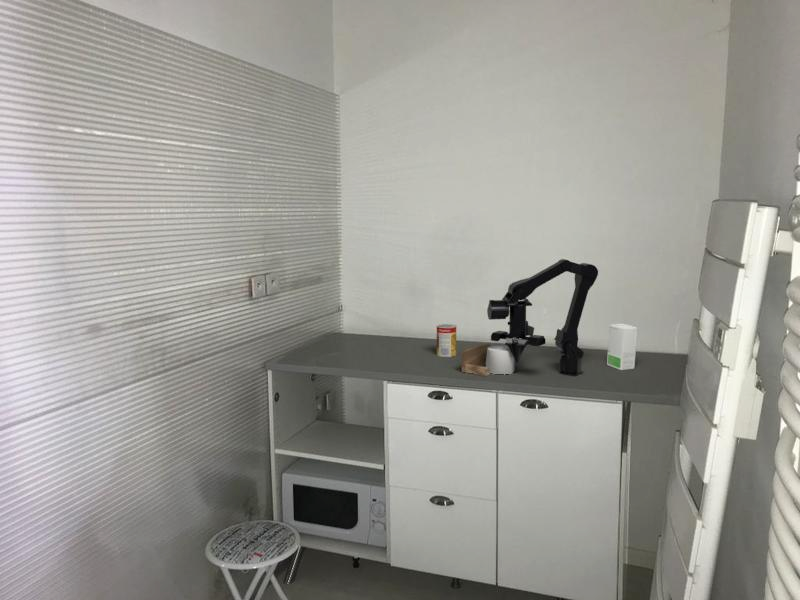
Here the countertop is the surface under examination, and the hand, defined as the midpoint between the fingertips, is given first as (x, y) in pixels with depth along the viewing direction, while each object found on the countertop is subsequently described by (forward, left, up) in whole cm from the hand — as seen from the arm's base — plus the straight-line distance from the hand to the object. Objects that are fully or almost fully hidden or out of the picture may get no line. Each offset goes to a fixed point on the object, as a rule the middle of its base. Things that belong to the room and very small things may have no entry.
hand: (517, 362), depth 228 cm
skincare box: (-25, -33, -5) cm, 41 cm away
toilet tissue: (+7, +1, -5) cm, 9 cm away
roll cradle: (+13, 0, -5) cm, 13 cm away
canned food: (+38, -11, -5) cm, 40 cm away
